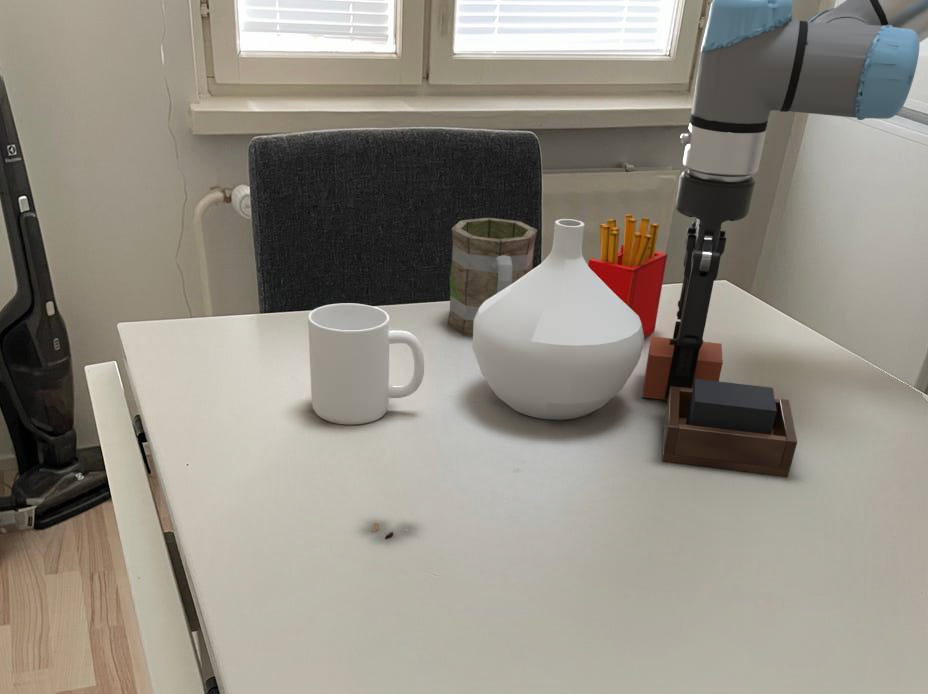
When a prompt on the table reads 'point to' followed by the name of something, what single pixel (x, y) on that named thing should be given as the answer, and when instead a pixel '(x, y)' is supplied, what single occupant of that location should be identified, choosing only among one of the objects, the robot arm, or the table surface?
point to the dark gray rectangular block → (732, 406)
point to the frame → (727, 440)
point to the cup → (355, 362)
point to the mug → (485, 264)
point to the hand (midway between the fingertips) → (677, 388)
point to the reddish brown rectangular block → (661, 363)
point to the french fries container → (632, 268)
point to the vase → (557, 336)
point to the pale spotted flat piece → (375, 528)
